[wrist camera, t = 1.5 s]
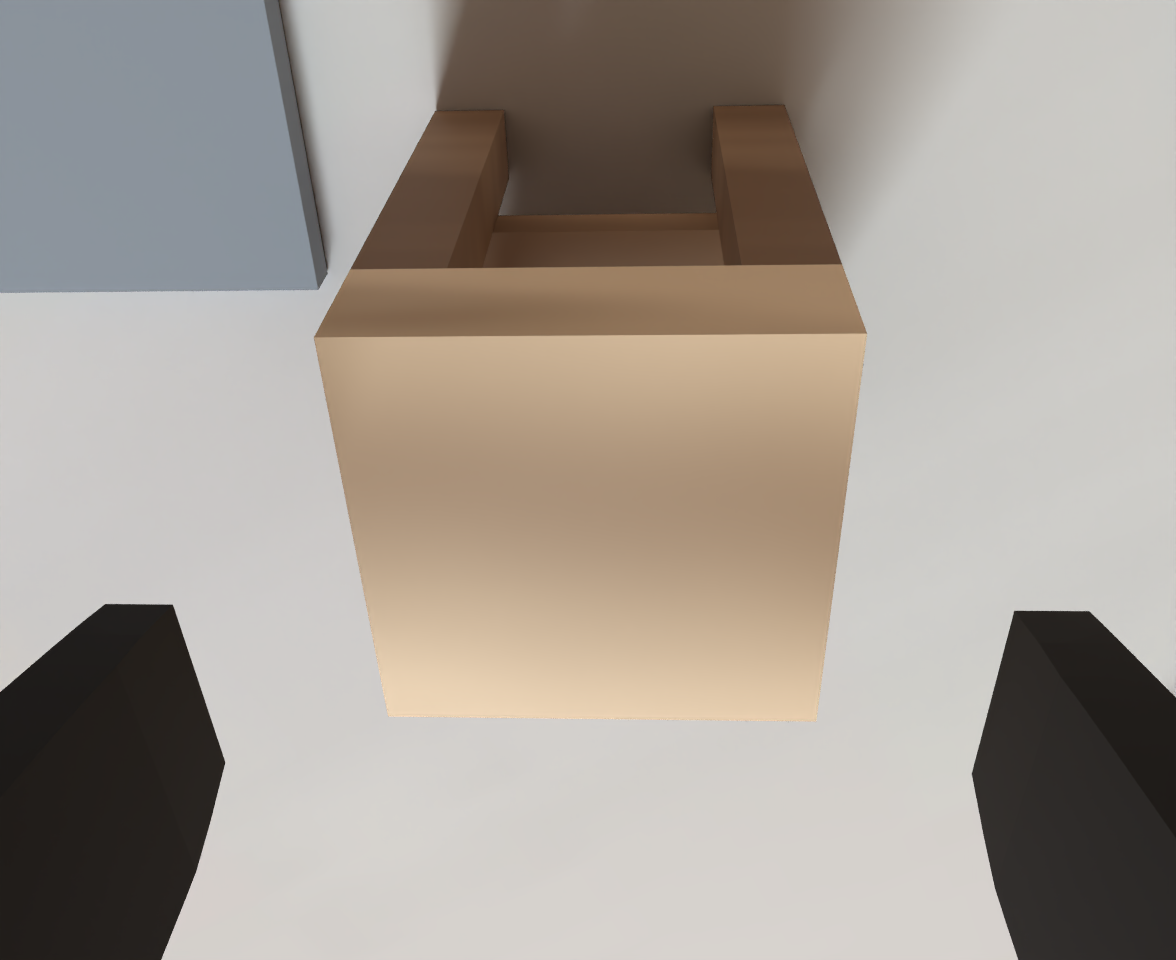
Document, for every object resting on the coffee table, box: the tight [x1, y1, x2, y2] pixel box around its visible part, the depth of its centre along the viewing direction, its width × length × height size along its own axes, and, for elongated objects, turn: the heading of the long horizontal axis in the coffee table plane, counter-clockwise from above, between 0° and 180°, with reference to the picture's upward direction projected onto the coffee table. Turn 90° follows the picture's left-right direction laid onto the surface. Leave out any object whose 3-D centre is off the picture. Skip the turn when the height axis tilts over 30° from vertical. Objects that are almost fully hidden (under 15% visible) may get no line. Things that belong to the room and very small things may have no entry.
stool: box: [314, 105, 867, 721], centre depth 14 cm, size 5×5×7 cm
